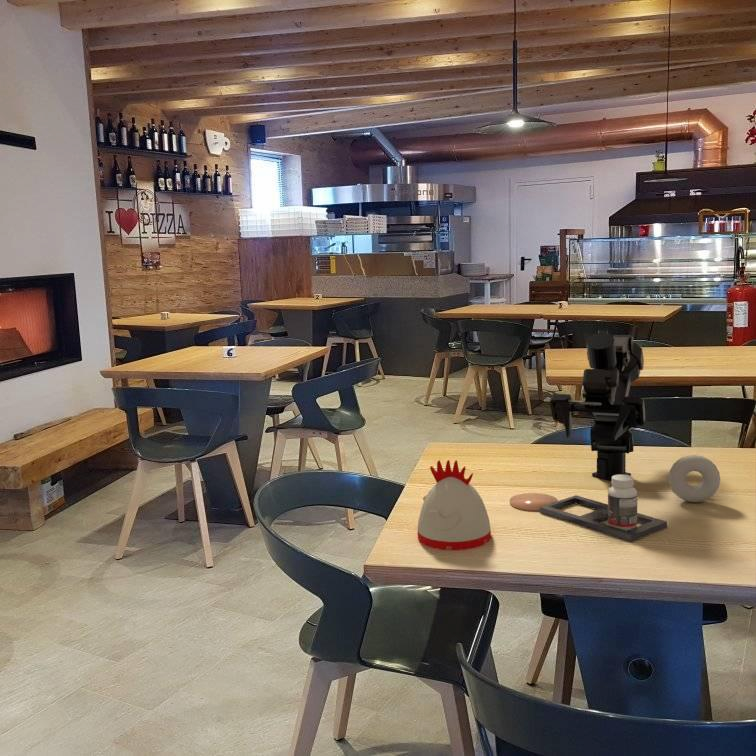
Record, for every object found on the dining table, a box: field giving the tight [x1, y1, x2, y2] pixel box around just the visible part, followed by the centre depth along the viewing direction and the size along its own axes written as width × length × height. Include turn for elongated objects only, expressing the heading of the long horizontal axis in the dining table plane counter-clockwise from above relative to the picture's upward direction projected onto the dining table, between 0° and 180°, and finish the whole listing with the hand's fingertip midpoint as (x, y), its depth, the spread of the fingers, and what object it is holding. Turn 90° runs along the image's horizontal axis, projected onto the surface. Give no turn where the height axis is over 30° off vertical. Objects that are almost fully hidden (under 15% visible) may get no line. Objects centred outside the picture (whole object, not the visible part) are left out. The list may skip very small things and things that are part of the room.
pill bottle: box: [607, 475, 638, 531], centre depth 152 cm, size 5×5×10 cm
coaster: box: [509, 492, 559, 512], centre depth 169 cm, size 10×10×1 cm
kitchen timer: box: [417, 459, 492, 551], centre depth 151 cm, size 14×14×15 cm
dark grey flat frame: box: [539, 494, 668, 543], centre depth 157 cm, size 11×22×1 cm, turn 36°
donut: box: [667, 454, 721, 504], centre depth 164 cm, size 10×4×10 cm, turn 74°
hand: (590, 437), depth 160 cm, fingers open, 9 cm apart
